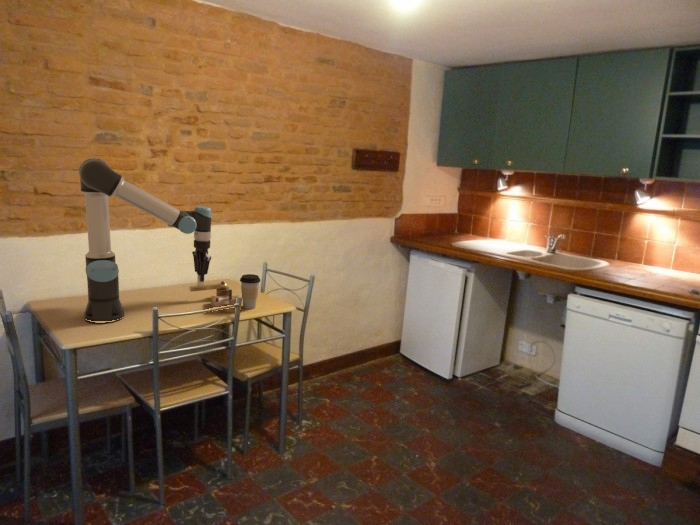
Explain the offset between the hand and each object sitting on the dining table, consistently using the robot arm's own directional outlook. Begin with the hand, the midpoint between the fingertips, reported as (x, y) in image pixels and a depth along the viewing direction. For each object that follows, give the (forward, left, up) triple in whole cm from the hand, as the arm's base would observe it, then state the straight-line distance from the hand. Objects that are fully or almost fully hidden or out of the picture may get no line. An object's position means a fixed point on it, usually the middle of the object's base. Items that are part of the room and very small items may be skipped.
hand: (200, 287), depth 245 cm
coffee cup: (+22, -12, -6) cm, 26 cm away
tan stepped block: (+11, -13, -6) cm, 18 cm away
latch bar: (+4, -1, -1) cm, 4 cm away
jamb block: (+11, +1, -6) cm, 12 cm away
